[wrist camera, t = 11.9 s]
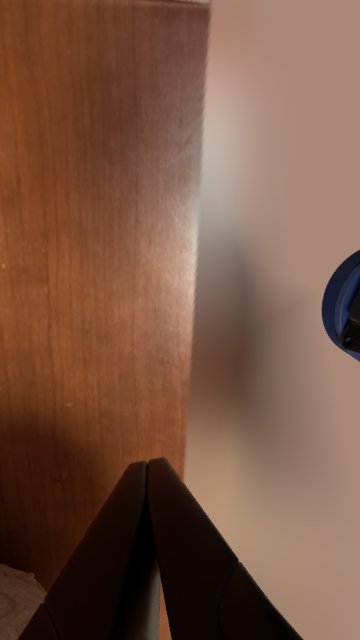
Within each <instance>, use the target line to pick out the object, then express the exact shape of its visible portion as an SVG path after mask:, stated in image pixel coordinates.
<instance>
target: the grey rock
mask: <svg viewBox="0 0 360 640" xmlns="http://www.w3.org/2000/svg"><path fill="white" fill-rule="evenodd" d="M46 595H47V592H46V591H45V590H44V589H43V587H42V586H41V585H40V583H39V582H38V581H37V580H35V579H34V574H33V573H31V572H29V573H28V574H27V573H26V572H23V571H19V570H16V569H14V568H11V567H8V566H6V565H3V564H1V563H0V640H17V639H18V638H19V636H20V635H21V633H22V632H23V630H24V629H25V627H26V626H27V624H28V622H29V621H30V619H31V618H32V616H33V615H34V613H35V611H36V610H37V608H38V607H39V605H40V604H41V603H44V598H45V596H46Z"/></svg>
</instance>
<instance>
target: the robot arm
mask: <svg viewBox="0 0 360 640" xmlns="http://www.w3.org/2000/svg"><path fill="white" fill-rule="evenodd" d="M348 338H349V342H348V343H346V344H345V342H346V340H347V339H348ZM338 343H339V345H340V346H341V347H343V348H345V349H347V350H350V351H354V352H358V353H360V288H359V291H358V293H357V295H356V298H355V300H354V302H353V304H352V307H351V309H350V311H349V314H348V318H347V320H346V322H345V325H344V327H343V329H342V332H341V334H340V336H339V339H338ZM160 577H161V583H162V588H163V594H164V599H165V605H166V610H167V616H168V621H169V627H170V632H171V638H172V640H303V639H302V637H301V636H300V635H299V634H298V633H297V632H296V631H295V630H294V628H292V626H291V625H290V624H289V623H288V622H287V620H286V619H285V618H284V617H283V616H282V615H281V613H280V612H279V611H278V610H277V609H276V608H275V607H274V605H273V604H272V603H271V602H270V600H269V599H268V598H267V596H265V594H264V593H263V591H262V590H261V589H260V587H259V586H258V585H257V583H256V582H255V581H254V580H253V578H252V577H251V575H250V574H249V573H248V571H247V570H246V568H245V567H244V566H243V564H242V563H241V562H239V560H238V558H237V556H236V555H235V553H234V552H233V551H232V549H231V548H230V547H229V545H228V544H227V543H226V541H225V540H224V538H223V537H222V535H221V534H220V533H219V531H218V530H217V528H216V527H215V526H214V524H213V523H212V522H211V520H210V519H209V518H208V516H207V515H206V513H205V512H204V510H203V509H202V508H201V506H200V505H199V503H198V502H197V501H196V499H195V498H194V496H193V495H192V494H191V492H190V491H189V489H188V488H187V487H186V485H185V484H184V482H183V481H182V480H181V478H180V477H179V475H178V474H177V473H176V471H175V470H174V469H173V467H172V466H171V464H170V463H169V462H168V460H167V459H166V458H165V457H161V458H156V459H151V460H149V461H148V462H147V461H140V462H135V463H131V464H130V465H129V466H128V467H127V469H126V470H125V472H124V474H123V475H122V477H121V478H120V480H119V481H118V483H117V485H116V486H115V488H114V489H113V491H112V492H111V494H110V496H109V497H108V499H107V500H106V502H105V503H104V505H103V507H102V508H101V510H100V511H99V513H98V514H97V516H96V518H95V519H94V521H93V522H92V524H91V525H90V527H89V529H88V530H87V532H86V533H85V535H84V536H83V538H82V540H81V541H80V543H79V544H78V546H77V547H76V549H75V551H74V552H73V554H72V555H71V557H70V558H69V560H68V562H67V563H66V565H65V566H64V568H63V569H62V571H61V573H60V574H59V576H58V577H57V579H56V580H55V582H54V584H53V585H52V587H51V588H50V590H49V591H48V593H47V595H46V596H45V598H44V603H41V604H40V605H39V607H38V608H37V610H36V611H35V613H34V615H33V616H32V618H31V619H30V621H29V622H28V624H27V626H26V627H25V629H24V630H23V632H22V633H21V635H20V636H19V638H18V639H17V640H159V610H160Z"/></svg>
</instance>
